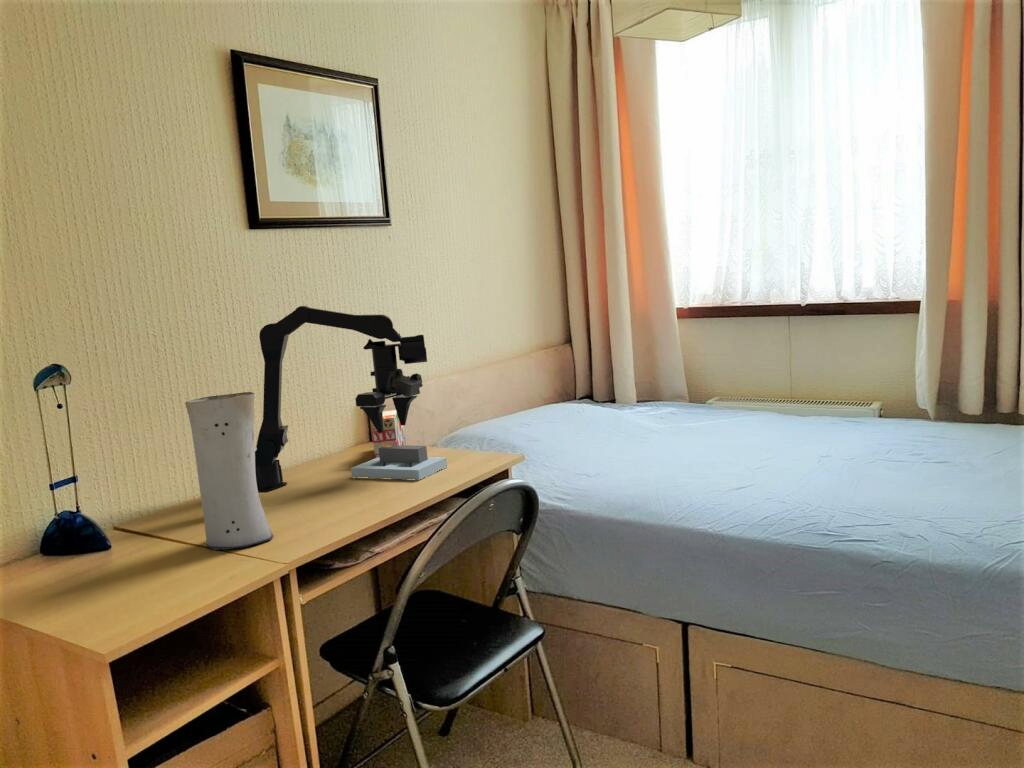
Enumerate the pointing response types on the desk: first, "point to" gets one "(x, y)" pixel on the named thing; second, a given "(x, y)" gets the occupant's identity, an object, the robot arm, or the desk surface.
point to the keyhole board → (399, 469)
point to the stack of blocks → (388, 432)
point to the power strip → (403, 454)
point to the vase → (228, 470)
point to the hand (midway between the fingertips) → (392, 429)
